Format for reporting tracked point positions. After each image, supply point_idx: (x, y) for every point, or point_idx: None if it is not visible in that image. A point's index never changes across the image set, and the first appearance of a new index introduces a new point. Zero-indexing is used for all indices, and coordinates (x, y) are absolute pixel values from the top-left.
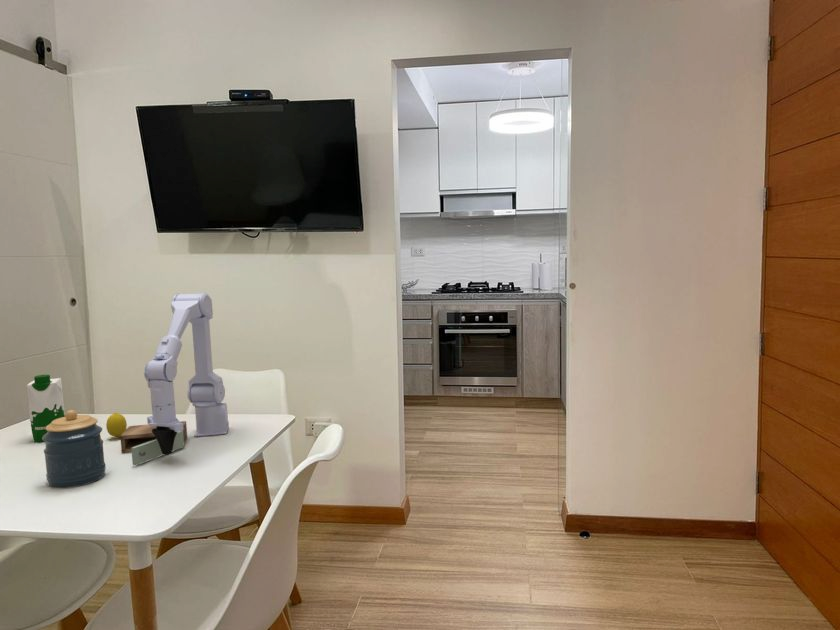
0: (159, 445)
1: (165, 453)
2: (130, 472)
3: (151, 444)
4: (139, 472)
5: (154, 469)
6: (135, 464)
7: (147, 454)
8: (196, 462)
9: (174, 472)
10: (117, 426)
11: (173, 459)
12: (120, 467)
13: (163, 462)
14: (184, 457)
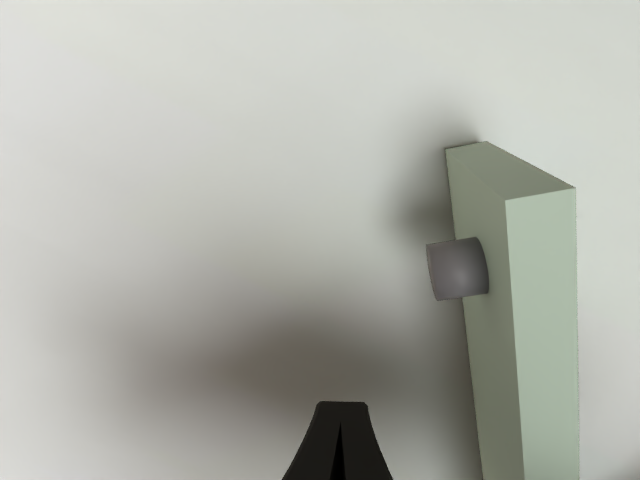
0: (380, 462)
1: (314, 412)
2: (322, 30)
3: (511, 439)
4: (245, 90)
5: (212, 215)
6: (448, 154)
7: (477, 319)
8: (117, 452)
9: (12, 270)
10: None
11: None
12: (581, 36)
13: (322, 341)
14: None
